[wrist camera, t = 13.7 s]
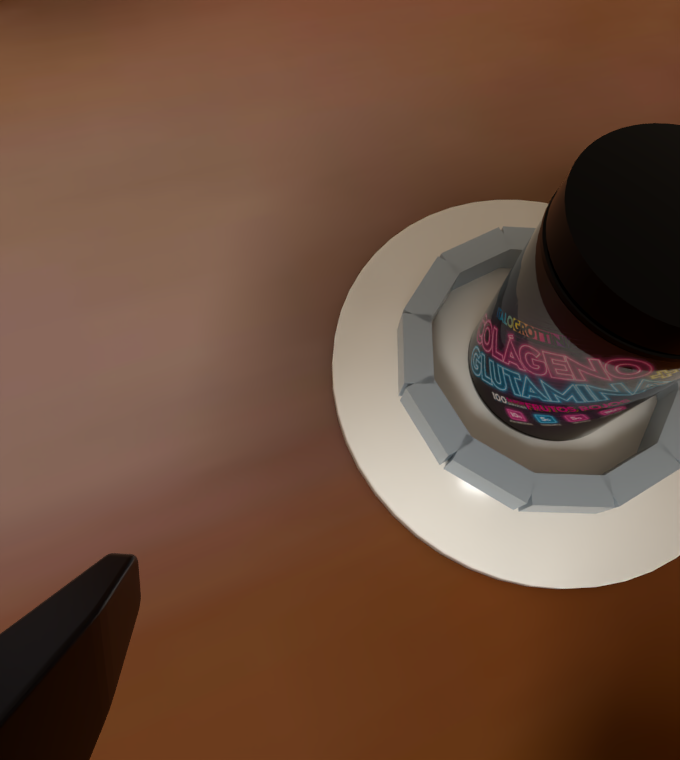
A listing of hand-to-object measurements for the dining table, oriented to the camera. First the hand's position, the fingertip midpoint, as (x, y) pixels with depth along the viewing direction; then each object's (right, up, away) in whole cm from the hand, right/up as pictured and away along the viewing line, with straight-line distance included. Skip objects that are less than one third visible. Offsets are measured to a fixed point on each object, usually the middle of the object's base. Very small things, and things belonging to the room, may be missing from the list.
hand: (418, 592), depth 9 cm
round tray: (+7, +4, +17) cm, 18 cm away
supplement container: (+7, +4, +16) cm, 18 cm away
